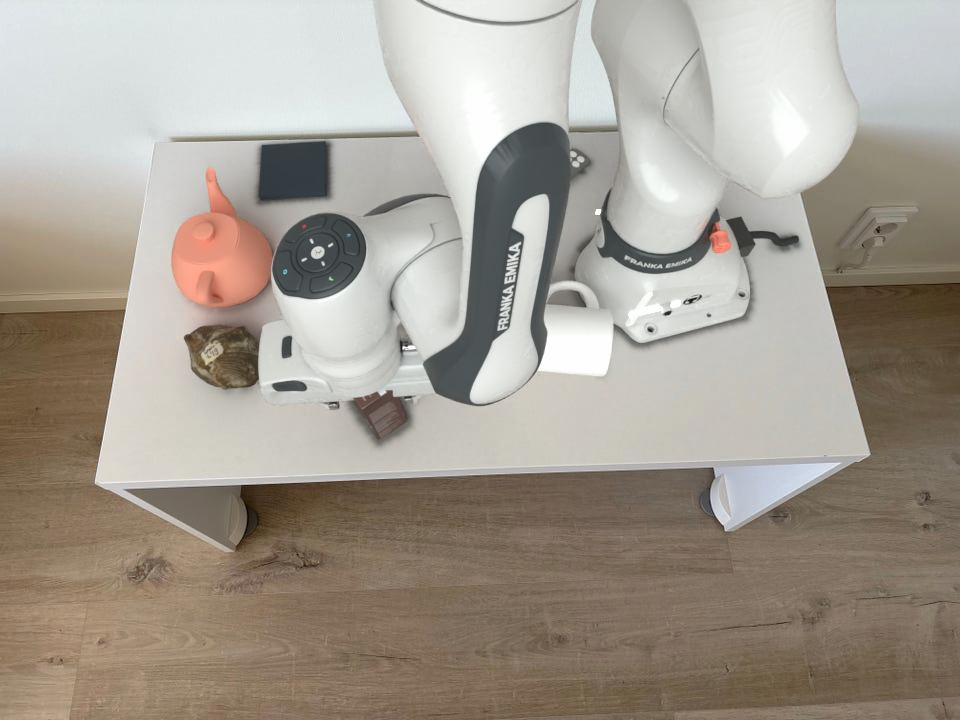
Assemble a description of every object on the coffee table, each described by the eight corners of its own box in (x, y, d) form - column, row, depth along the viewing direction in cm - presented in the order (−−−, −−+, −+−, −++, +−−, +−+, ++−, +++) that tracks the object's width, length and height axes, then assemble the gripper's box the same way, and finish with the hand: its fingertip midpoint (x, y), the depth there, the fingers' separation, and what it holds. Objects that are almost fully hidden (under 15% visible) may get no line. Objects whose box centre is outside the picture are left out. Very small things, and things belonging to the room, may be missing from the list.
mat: (326, 145, 95) (325, 140, 94) (326, 196, 91) (324, 191, 91) (263, 149, 95) (261, 144, 94) (260, 200, 91) (258, 195, 90)
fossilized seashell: (172, 335, 80) (200, 410, 78) (184, 309, 75) (214, 387, 73) (233, 325, 85) (261, 395, 83) (248, 299, 80) (278, 373, 78)
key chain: (569, 150, 95) (571, 143, 94) (590, 164, 94) (592, 157, 93) (512, 204, 91) (513, 197, 89) (533, 219, 90) (534, 212, 89)
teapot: (174, 331, 83) (140, 292, 74) (190, 213, 90) (160, 166, 81) (272, 325, 83) (249, 286, 74) (280, 208, 90) (259, 161, 82)
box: (350, 404, 79) (330, 364, 68) (382, 384, 80) (368, 341, 69) (376, 444, 77) (361, 409, 66) (409, 423, 78) (399, 385, 67)
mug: (600, 386, 80) (613, 360, 73) (518, 379, 81) (523, 352, 73) (602, 300, 85) (614, 267, 78) (525, 294, 85) (530, 260, 78)
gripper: (461, 310, 63) (462, 367, 76) (245, 325, 62) (282, 381, 75) (467, 370, 61) (467, 419, 73) (241, 387, 60) (280, 434, 72)
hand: (372, 400), depth 74 cm, fingers open, 7 cm apart
